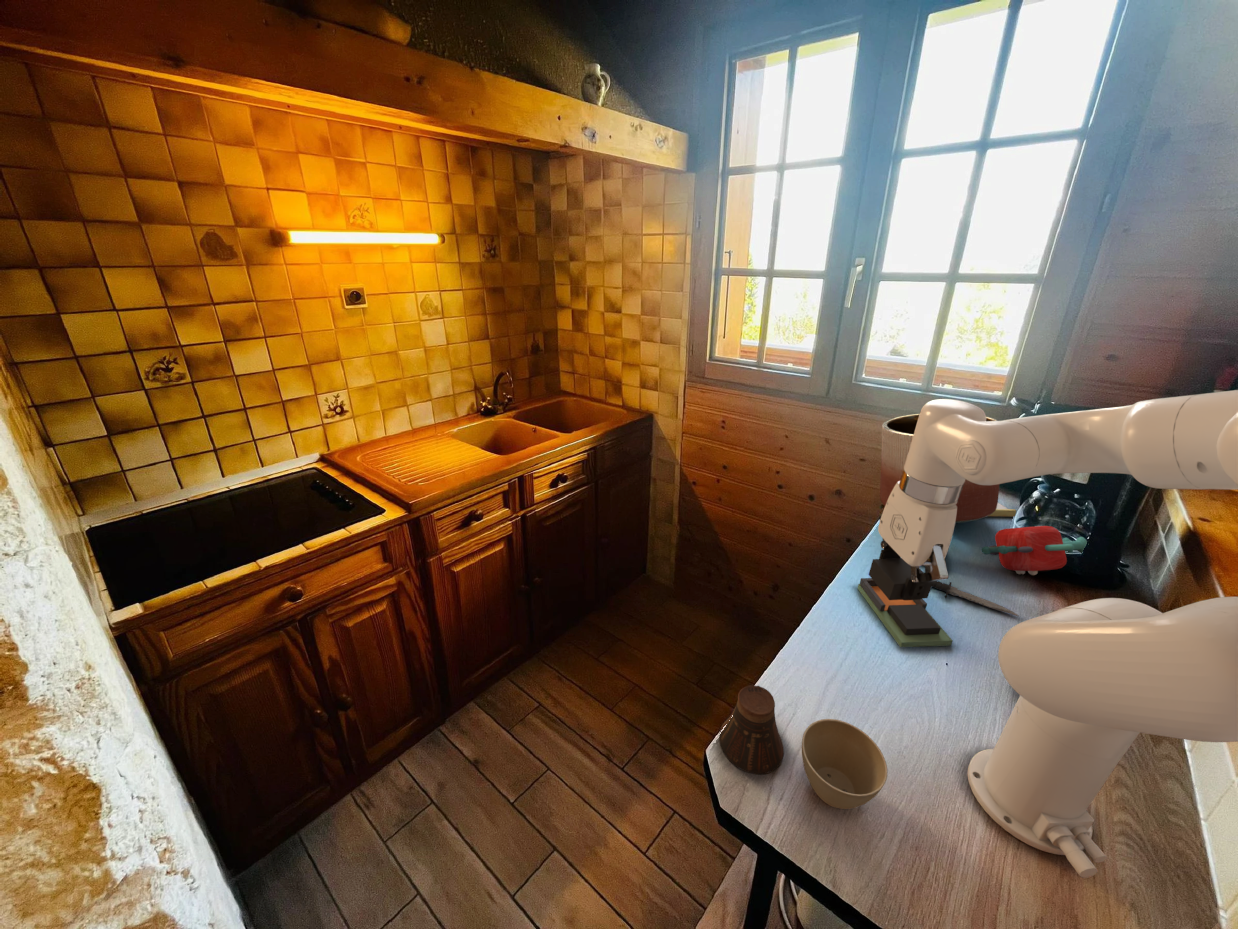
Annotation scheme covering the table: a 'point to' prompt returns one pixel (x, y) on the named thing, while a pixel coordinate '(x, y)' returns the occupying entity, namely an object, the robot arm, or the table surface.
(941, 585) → the knife
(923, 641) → the dock
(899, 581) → the loose pad
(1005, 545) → the toy
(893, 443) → the planter
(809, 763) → the beige bowl
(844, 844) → the table surface
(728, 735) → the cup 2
